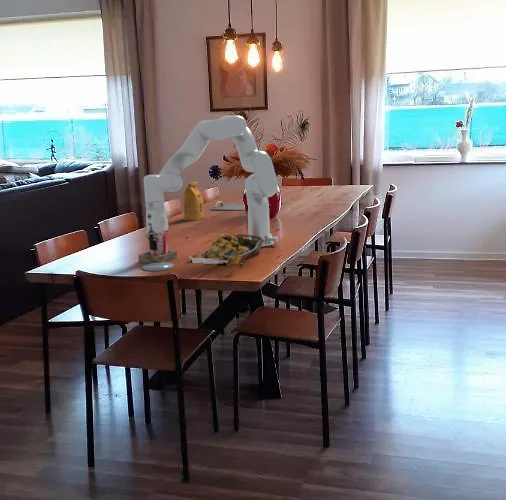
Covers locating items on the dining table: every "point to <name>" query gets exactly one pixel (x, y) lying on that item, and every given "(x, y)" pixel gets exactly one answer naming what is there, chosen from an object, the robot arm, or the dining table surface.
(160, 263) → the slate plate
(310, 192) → the dining table surface
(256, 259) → the dining table surface
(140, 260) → the can holder
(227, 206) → the serving board
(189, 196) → the coffee package
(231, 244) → the food tray
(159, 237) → the soda can
